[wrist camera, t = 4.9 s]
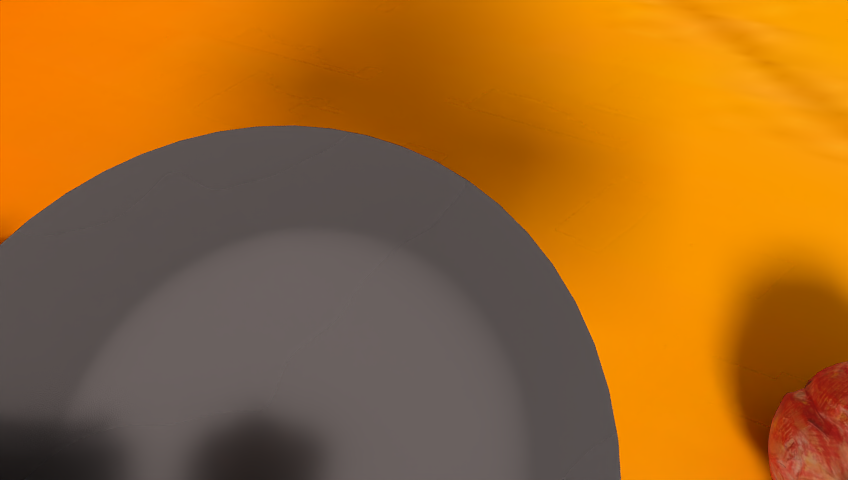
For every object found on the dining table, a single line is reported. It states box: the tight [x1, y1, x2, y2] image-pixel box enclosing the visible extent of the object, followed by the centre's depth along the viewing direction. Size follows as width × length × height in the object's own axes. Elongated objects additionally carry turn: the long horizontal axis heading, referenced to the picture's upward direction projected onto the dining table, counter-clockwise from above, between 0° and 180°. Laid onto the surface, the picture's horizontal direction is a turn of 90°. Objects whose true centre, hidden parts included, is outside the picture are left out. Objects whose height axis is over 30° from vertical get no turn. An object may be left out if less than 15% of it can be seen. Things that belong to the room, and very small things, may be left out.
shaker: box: [0, 126, 621, 480], centre depth 9 cm, size 5×5×12 cm
